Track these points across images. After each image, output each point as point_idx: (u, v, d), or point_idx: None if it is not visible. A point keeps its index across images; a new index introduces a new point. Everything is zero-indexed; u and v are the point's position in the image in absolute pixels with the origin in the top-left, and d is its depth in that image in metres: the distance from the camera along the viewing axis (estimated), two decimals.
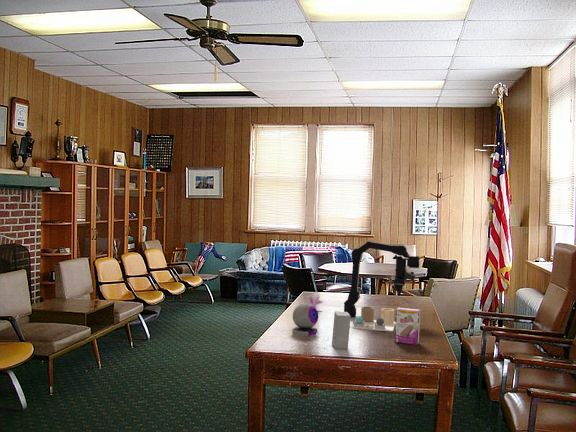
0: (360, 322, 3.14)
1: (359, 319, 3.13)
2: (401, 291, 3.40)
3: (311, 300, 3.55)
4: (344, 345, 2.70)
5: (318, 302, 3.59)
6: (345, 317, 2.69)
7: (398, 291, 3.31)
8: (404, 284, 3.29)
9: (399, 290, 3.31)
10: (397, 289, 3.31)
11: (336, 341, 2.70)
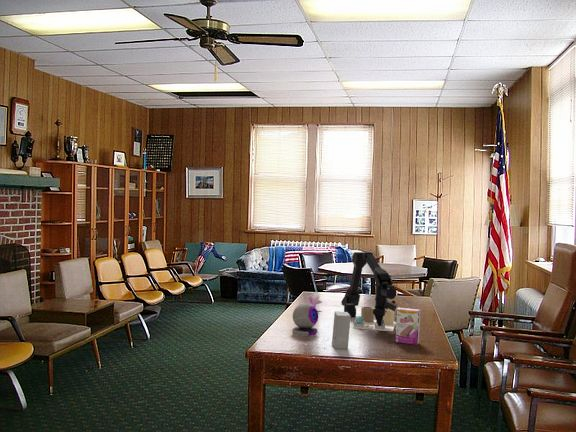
0: (360, 322, 3.14)
1: (359, 319, 3.13)
2: None
3: (311, 300, 3.56)
4: (344, 345, 2.70)
5: (318, 302, 3.59)
6: (345, 317, 2.69)
7: (378, 321, 3.09)
8: None
9: (379, 320, 3.09)
10: (377, 319, 3.09)
11: (336, 341, 2.70)
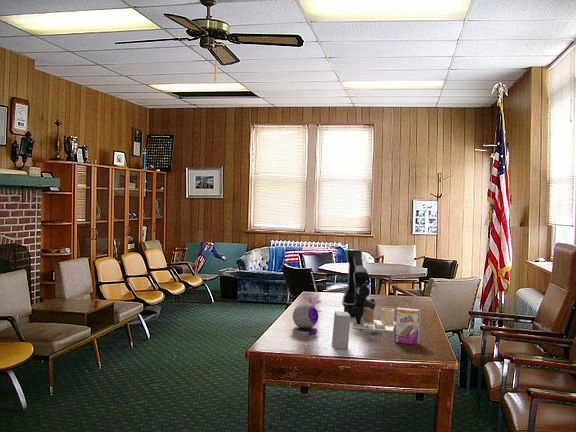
0: (360, 322, 3.14)
1: None
2: None
3: (310, 300, 3.56)
4: (344, 345, 2.70)
5: (317, 302, 3.59)
6: (345, 317, 2.69)
7: (357, 319, 3.12)
8: (363, 312, 3.10)
9: (358, 318, 3.12)
10: (356, 317, 3.12)
11: (336, 341, 2.70)
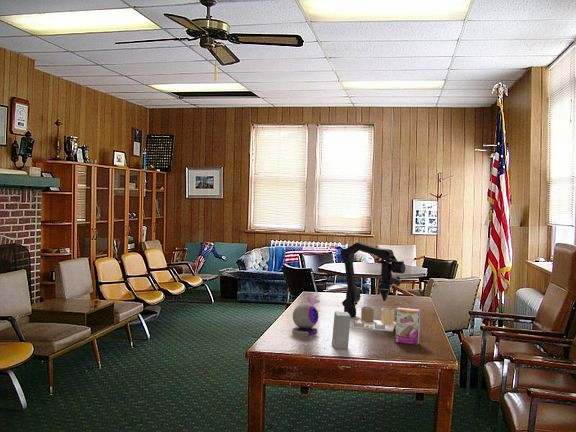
0: None
1: None
2: (387, 296, 3.35)
3: (309, 300, 3.56)
4: (344, 345, 2.70)
5: (315, 302, 3.60)
6: (345, 317, 2.69)
7: (383, 296, 3.25)
8: (389, 289, 3.23)
9: (384, 295, 3.25)
10: (382, 294, 3.25)
11: (336, 341, 2.70)
